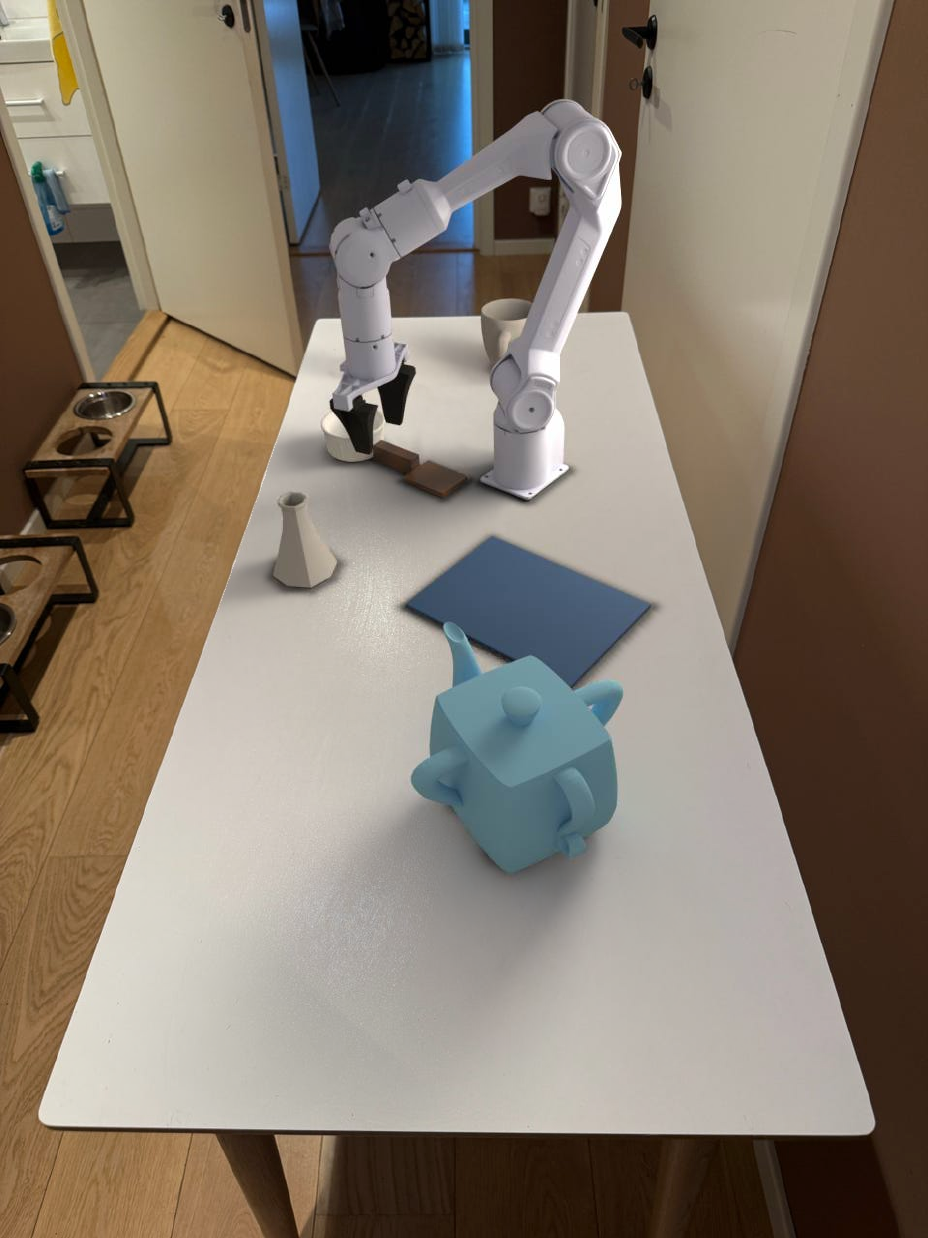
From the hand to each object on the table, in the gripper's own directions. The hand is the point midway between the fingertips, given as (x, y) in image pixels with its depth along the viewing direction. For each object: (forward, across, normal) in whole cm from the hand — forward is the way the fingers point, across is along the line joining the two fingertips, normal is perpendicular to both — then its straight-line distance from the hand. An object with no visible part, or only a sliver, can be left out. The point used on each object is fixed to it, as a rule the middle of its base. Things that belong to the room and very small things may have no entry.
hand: (379, 437), depth 114 cm
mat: (+9, +13, +25) cm, 30 cm away
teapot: (+9, +38, +34) cm, 52 cm away
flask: (+9, +17, -1) cm, 19 cm away
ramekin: (+9, -9, -10) cm, 16 cm away
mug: (+9, -39, 0) cm, 40 cm away
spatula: (+9, -7, -1) cm, 12 cm away
